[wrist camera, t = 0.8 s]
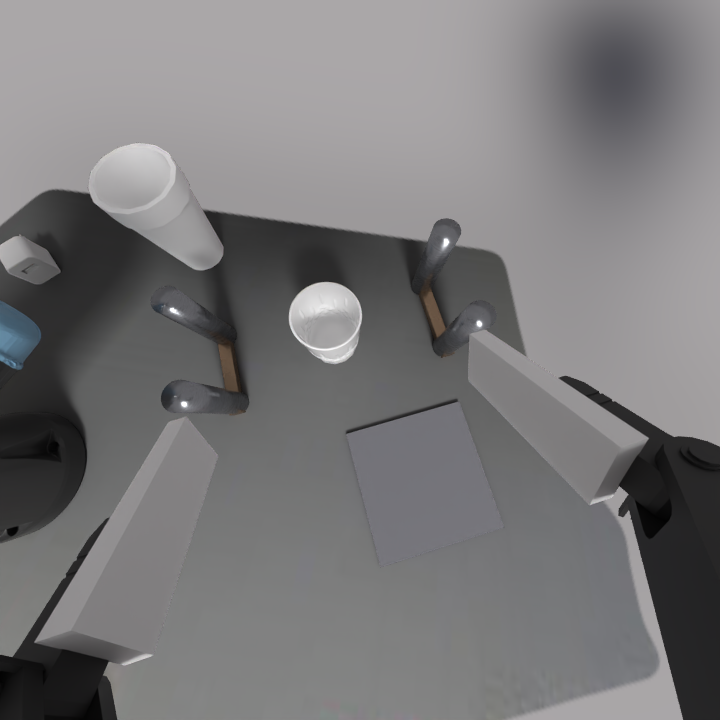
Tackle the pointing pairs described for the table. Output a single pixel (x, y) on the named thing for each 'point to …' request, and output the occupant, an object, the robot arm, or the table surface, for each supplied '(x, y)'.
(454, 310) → the table surface
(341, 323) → the white cup
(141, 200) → the foam cup
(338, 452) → the table surface
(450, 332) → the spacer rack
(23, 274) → the usb wall charger
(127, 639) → the robot arm
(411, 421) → the mat
